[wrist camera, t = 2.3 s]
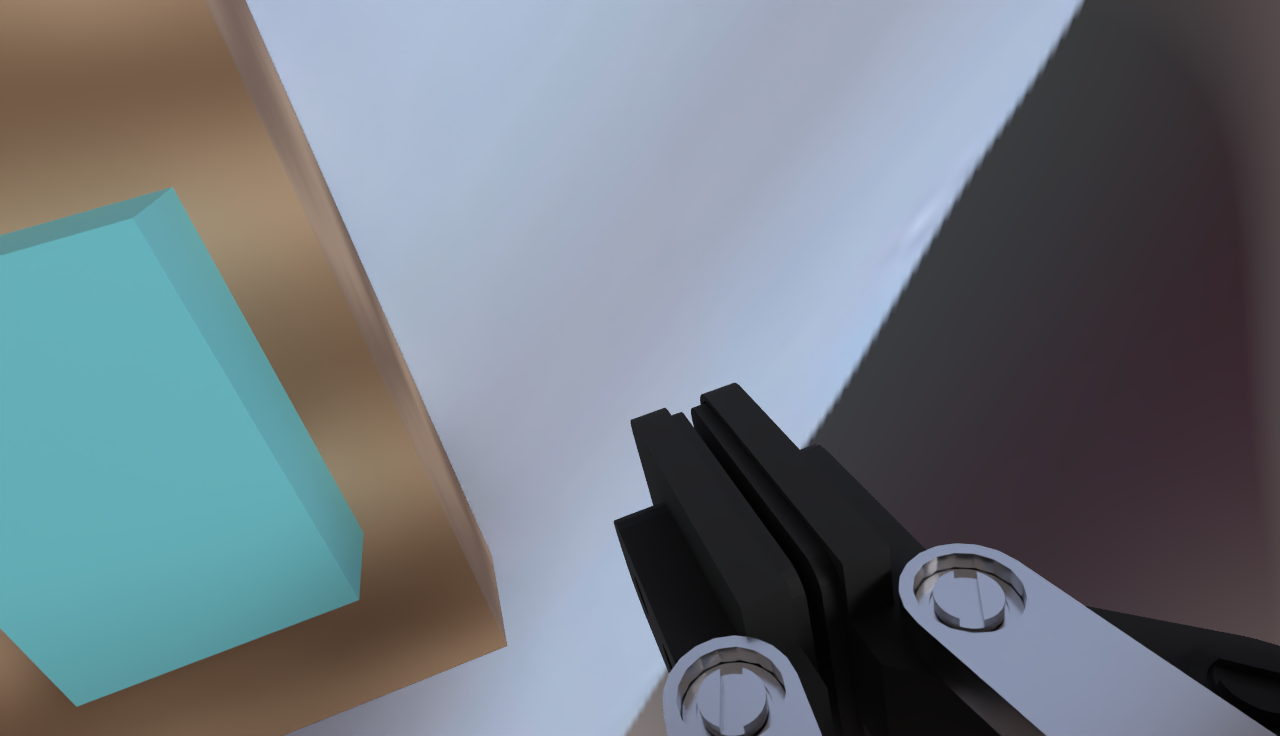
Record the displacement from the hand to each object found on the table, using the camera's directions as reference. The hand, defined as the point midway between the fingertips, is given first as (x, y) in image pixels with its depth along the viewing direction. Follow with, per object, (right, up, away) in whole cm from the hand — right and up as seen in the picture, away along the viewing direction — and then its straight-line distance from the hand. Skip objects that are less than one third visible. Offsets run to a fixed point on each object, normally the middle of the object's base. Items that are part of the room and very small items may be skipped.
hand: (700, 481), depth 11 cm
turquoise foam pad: (-12, 0, +5) cm, 13 cm away
